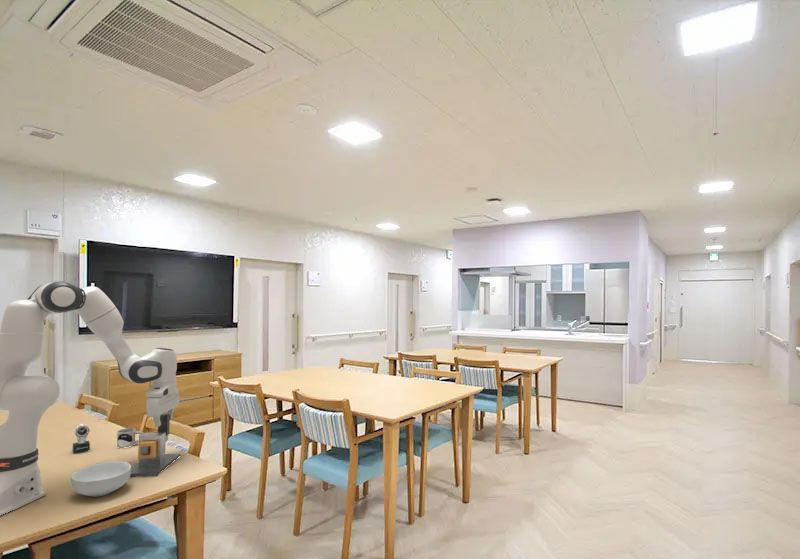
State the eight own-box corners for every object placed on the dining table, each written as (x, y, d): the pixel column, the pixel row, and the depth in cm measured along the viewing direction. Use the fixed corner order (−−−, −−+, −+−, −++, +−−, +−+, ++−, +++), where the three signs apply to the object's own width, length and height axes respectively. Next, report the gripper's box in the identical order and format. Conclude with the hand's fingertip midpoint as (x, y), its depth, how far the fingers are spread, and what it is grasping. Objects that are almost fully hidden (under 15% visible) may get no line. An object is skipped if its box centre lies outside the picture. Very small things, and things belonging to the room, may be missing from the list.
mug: (115, 449, 193) (115, 433, 193) (119, 444, 199) (119, 429, 200) (141, 446, 196) (141, 431, 196) (145, 442, 202) (145, 426, 203)
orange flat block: (153, 458, 168) (153, 442, 169) (138, 458, 168) (138, 443, 168) (156, 456, 170) (156, 441, 171) (141, 456, 170) (141, 441, 170)
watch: (74, 454, 186) (74, 427, 187) (72, 449, 192) (72, 423, 193) (90, 451, 190) (91, 425, 190) (88, 446, 196) (88, 421, 196)
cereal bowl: (56, 501, 144) (57, 478, 145) (98, 480, 161) (98, 460, 161) (105, 504, 142) (105, 481, 142) (142, 482, 159) (142, 462, 159)
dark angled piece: (148, 454, 167) (149, 425, 167) (138, 454, 167) (139, 425, 167) (169, 440, 183) (169, 414, 183) (160, 440, 183) (160, 414, 183)
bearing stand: (156, 476, 164) (156, 441, 164) (122, 477, 163) (122, 441, 164) (180, 456, 184) (181, 425, 184) (150, 457, 183) (151, 425, 184)
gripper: (168, 383, 193) (167, 416, 192) (143, 393, 172) (142, 430, 172) (183, 383, 193) (183, 415, 193) (160, 393, 173) (159, 430, 172)
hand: (163, 422), depth 182 cm, fingers open, 8 cm apart
